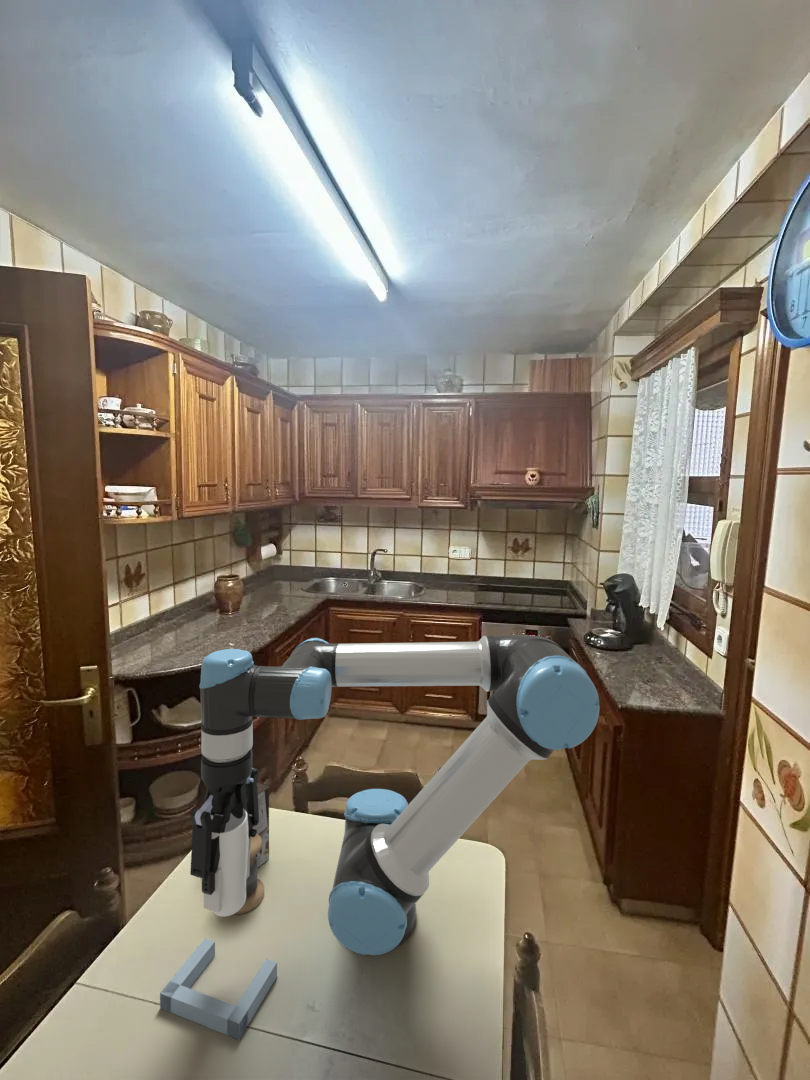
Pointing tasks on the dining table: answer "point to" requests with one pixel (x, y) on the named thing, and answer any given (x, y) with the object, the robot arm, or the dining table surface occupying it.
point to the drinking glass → (233, 863)
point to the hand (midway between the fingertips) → (227, 890)
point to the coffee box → (263, 823)
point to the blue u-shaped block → (209, 1008)
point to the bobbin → (253, 879)
